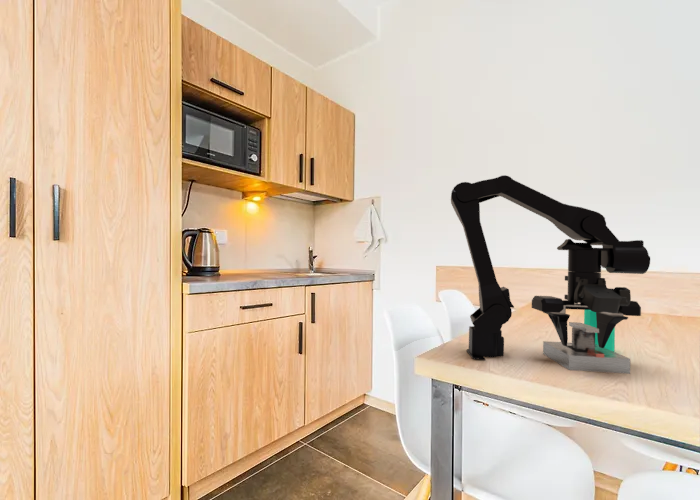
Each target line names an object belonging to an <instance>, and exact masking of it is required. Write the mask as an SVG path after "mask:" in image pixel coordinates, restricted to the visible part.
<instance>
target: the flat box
mask: <svg viewBox="0 0 700 500" xmlns="http://www.w3.org/2000/svg"><path fill="white" fill-rule="evenodd" d="M542 343H543V344H542V348H543V349H542V355H544V356H546V357H547V358H549V359H550V360H552V361H553V362H555V363H557V364H559V365H560V366H562V367H563V368H565V369H567V370H568V371H578V372H579V371H581V372H595V373H598V372H599V373H612V374H629V375H631V358H629V357H627V356H624V355H623V354H620V353H618V352H613V351H611V350H608V349H606V348H600V347H599V345H597V344H595V350H590V349H587V352H576V351H574V350H572V342H567V346H564V345H562V342H561V341H548V340H547V341H546V340H545V341H542Z"/></svg>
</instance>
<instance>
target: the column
mask: <svg viewBox="0 0 700 500" xmlns="http://www.w3.org/2000/svg"><path fill="white" fill-rule="evenodd" d="M568 322H569V323H568V326H569V327H571V343H572V350H574V351H576V352H587V349H590V350H595V333H599V329H598V328H595V327H592V326H589V325H586V324H584V322H578V321H577V322H575V321H574V322H572V321H568Z"/></svg>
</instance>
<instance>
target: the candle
mask: <svg viewBox="0 0 700 500" xmlns="http://www.w3.org/2000/svg"><path fill="white" fill-rule="evenodd" d="M583 313H584V314H583V324H586V325H589V326H592V327H595V328H597V321H596V312H593V311H591V310H584V312H583ZM615 331H616V326H615V327H614V329H613V331H612V332H611V334H610V337H609V339H608V341H607V343H606V345H605V347H604V348H606V349H608V350H611V351H613V352H615V351H616V350H615V348H616V347H615V341H616V340H615V337H616V332H615ZM595 344H597V345H599V344H598V338H597V333H595ZM615 353H616V352H615Z"/></svg>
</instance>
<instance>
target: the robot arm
mask: <svg viewBox="0 0 700 500" xmlns="http://www.w3.org/2000/svg"><path fill="white" fill-rule="evenodd" d="M450 195H451V196H450V204H451V206H452V208H453V210H454V212H455V215H456V216H457V218H458V220H459V221H460V224H461V226H462V227H463V232H464V236H465V239H466V242H467V246H468V250H469V254H470V256H471V257H470V258H471V261H472V265H473V268H474V272H475V275H476V279H477V283H478V301H479V303H478V304H479V308H478V309H476V310H474V312H473V313H471V314H470V315H469V317H470V320H471V323H472V325H473V326H471V325H470V326H468V328H469V329H468V348H467V349H466V352H467V353H468V355H469V356H470V357H471V359H473V360H483V361H484V360H485V361H486V360H487V359H486V358H497V357H503V356H504V355H505V338H504V337H503V334H502V332H503V331H502V327H503V325H504V324H506V323H508V322H509V320H510V319H511V318H512V311H513V310H512V309H515V306H514V304H513V303H512V300H511V295H510V289H509V288H508V287H505V286H501V287H500V284H499V282H498V281H497V278H496V273H495V270H494V267H493V266H494V265H493V263H492V260H491V256H490V252H489V249H488V245H487V242H486V238H485V234H484V231H483V226H482V223H481V215H480V213H481V212H480V207H481V206H480V203H483V202H487V201H489V200H492V199H495V198H498V197H502V198H504V199H505V200H507V201H509V202H511V203H514V204H515V205H518V206H520V207H522V208H523V209H526V210H528V211H529V212H531V213H533V214H536V215H538V216H540V217H542V218H544V219H545V220H548V222H549V221H550V222H551V223H552V224H553V225H554V226H555V227H556V228H557V229H558V230H559V231H560V232H562V233H563V234H564V235H566V236H567V237H569V238H567V239H565V240H564V241H563V242H562V243H561V244H560V245H558V246H557V248H556V249H557V250H558V251H567V253H568V254H567V256H568V257H567V258H568V259H567V263H568V264H567V275H564V281H567V294H564V299H562V298H559V297H555V296H552V295H551V296H549V295H534V296H533V297H532V299H531V309H533V310H537V311H540V312H542V313H543V314H546V315H548V317H549V319H550V321H551V323H552V324H553V326H554V328H555V330H556V333H557V336H558V338H559V340H560V342H562V345H564V346H567V343H568V342H569V340H568V339H569V338H568V336H569V335H568V322H569V319H570V317H571V315H570V314H568V313H566V310H582V311H583V310H591V311H593V312H596V321H597V328H598V329H599V333H597V338H598V344H599V347H600V348H604V347H605V345H606V343H607V341H608V339H609V337H610V334H611V332H612V331H613V329H614V327H615V328H616V325H618V324H619V323H621V322H622V321H623V320H624V321H625V320H628V319H629V317H628V316H633V317H634V316H635V317H641V316H642V307H641V306H640V305H641V304H639V303H638V301H635V300H631V299H632V298H631V297H632V296H631V290H630V289H629V288H627V287H625V286H623V287H621V286H616V287H614V288H608V287H607V281H606V278H604V277H602V268H603V269H605V271H607V273H610V274H629V275H630V274H631V275H635V274H636V275H643V274H646V273H647V271H648V270H649V268H650V265H651V256H649V251H648V249H647V247H645V246H644V241H643V240H642V239H641V240H640V239H639V240H638V239H637V240H621V241H620V240H619V238H618V237H617V236H616V235H615V234H614V233H613V232H612V230H610V228H609V227H608V226H607V222H606V217H605V216H604V215H602V214H601V213H599V212H598V211H594V210H591V209H588V208H585V207H581V206H575V205H569V204H566V203H563V202H560V201H558V200H557V199H554V198H552V197H550V196H548V195H546V194H544V193H541V192H539V191H538V190H536V189H533V188H531V187H530V186H527V185H525V184H523V183H521V182H519V181H517V180H516V179H513V178H512V177H511V176H509V175H500V176H498V177H495V178H489V179H484V180H480V181H475V182H472V183H471V182H467V181H464V182H463V181H462V182H460V183H457V184H456V185H455V186H454V187H453V188H452V191H451V194H450ZM573 240H575V241H582V242H574V241H573ZM593 246H601V247H593Z"/></svg>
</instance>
